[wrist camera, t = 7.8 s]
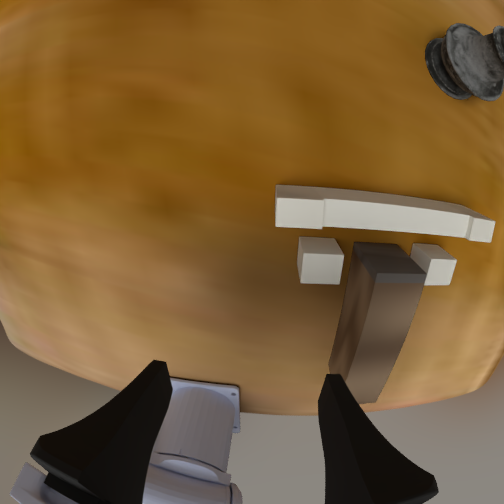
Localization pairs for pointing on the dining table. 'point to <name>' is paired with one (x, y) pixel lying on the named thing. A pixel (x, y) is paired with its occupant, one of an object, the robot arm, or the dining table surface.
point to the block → (375, 316)
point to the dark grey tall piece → (468, 62)
